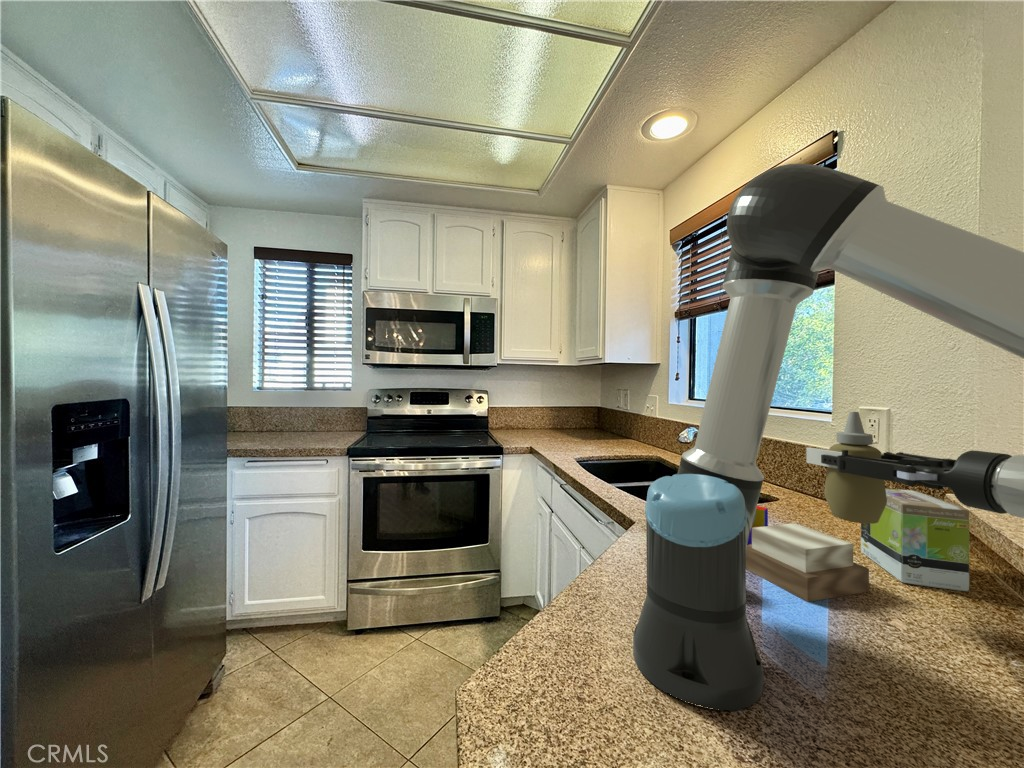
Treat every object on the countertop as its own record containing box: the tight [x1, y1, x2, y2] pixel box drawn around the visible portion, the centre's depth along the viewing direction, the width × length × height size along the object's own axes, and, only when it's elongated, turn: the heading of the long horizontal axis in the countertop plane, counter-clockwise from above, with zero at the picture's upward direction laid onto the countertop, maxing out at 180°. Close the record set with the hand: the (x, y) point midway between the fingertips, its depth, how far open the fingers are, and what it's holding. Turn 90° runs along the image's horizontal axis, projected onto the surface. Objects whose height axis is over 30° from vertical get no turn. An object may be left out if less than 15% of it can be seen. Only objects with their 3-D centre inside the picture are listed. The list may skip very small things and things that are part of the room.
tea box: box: [860, 487, 970, 592], centre depth 78 cm, size 15×10×15 cm
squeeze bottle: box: [823, 411, 887, 524], centre depth 66 cm, size 8×8×18 cm
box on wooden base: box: [746, 522, 870, 603], centre depth 75 cm, size 14×14×8 cm
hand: (823, 454), depth 71 cm, fingers closed on squeeze bottle, 6 cm apart
